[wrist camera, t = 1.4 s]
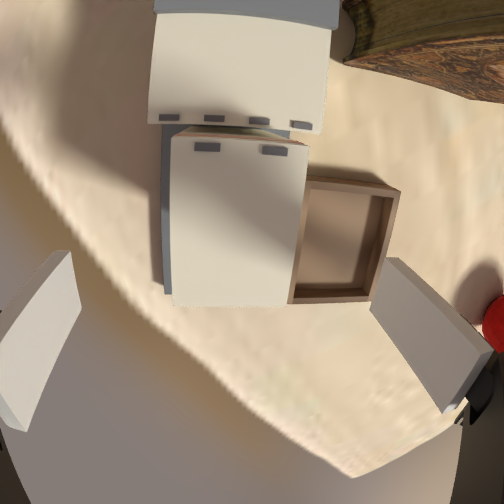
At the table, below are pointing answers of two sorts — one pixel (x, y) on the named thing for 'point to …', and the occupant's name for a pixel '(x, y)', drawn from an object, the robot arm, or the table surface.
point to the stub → (234, 216)
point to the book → (433, 43)
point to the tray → (341, 240)
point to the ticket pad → (242, 63)
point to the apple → (495, 324)
